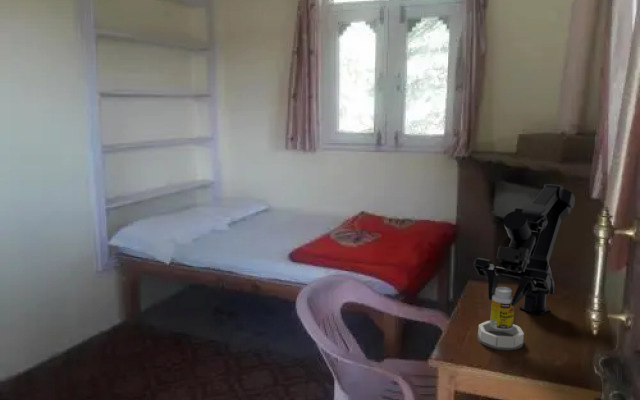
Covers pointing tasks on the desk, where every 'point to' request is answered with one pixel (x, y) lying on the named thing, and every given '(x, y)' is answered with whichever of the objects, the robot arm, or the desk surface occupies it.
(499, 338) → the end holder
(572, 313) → the desk surface
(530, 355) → the desk surface
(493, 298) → the supplement bottle
